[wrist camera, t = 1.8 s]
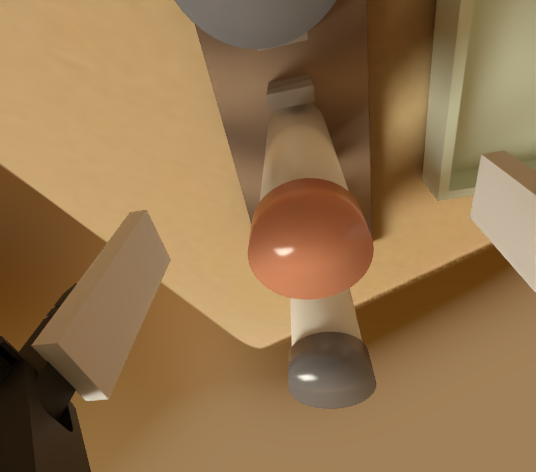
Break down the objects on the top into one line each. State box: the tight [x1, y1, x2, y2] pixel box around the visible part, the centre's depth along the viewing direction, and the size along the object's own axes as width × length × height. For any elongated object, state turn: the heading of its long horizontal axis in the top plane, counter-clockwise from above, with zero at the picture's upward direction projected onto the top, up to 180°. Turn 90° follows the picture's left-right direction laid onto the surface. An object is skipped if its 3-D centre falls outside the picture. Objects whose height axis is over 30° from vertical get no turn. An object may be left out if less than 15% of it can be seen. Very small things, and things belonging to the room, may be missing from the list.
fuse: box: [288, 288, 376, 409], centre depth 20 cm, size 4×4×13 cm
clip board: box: [195, 0, 372, 237], centre depth 20 cm, size 23×9×4 cm, turn 12°
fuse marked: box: [248, 103, 374, 300], centre depth 16 cm, size 4×4×13 cm
